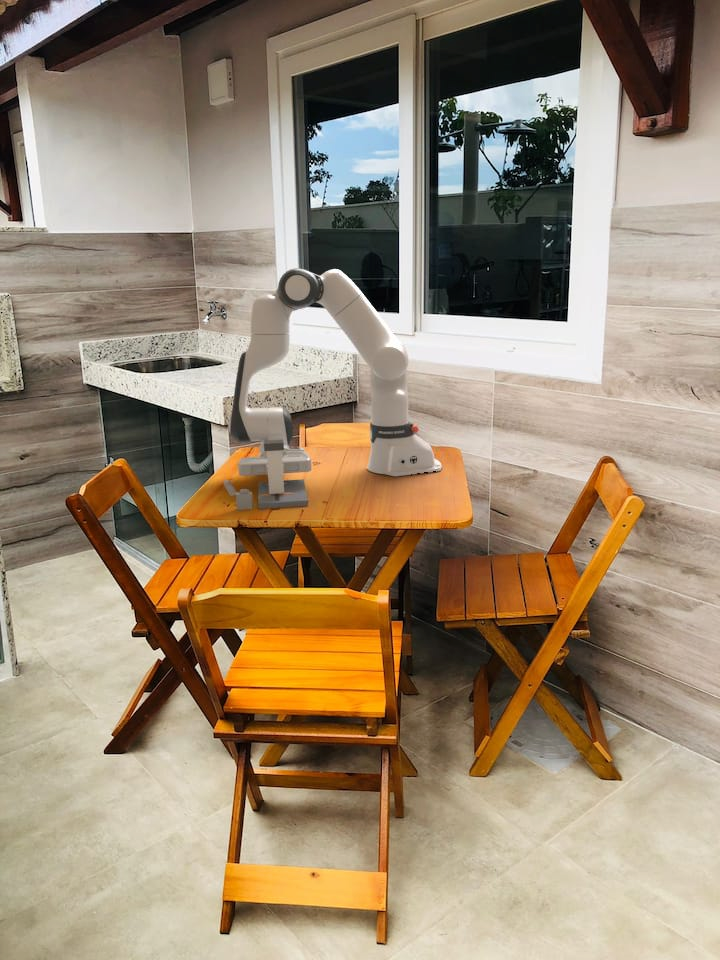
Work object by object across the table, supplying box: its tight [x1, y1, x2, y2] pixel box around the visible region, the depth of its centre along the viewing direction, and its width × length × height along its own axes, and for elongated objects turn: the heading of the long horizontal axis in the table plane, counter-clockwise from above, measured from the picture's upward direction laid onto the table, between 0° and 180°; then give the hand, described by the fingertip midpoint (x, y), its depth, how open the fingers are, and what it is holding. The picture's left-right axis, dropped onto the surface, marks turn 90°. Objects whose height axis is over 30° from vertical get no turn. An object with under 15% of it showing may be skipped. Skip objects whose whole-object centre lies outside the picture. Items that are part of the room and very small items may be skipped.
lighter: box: [222, 479, 254, 511], centre depth 206 cm, size 7×2×8 cm, turn 92°
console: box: [257, 478, 309, 510], centre depth 216 cm, size 13×20×2 cm, turn 7°
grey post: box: [264, 440, 285, 494], centre depth 212 cm, size 5×4×14 cm
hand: (275, 472), depth 214 cm, fingers closed, pressing on grey post
